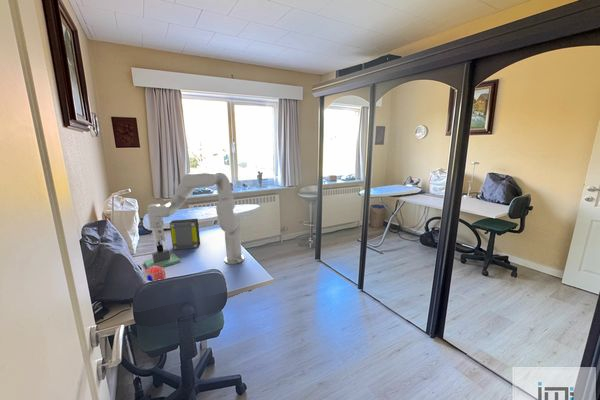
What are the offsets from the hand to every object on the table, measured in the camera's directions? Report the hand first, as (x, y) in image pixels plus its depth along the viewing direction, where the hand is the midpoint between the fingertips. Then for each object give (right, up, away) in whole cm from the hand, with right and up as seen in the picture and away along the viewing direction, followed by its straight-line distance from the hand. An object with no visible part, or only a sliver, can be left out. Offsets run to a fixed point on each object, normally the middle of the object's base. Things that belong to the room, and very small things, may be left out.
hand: (160, 251), depth 168 cm
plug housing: (0, -6, +1) cm, 6 cm away
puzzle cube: (+9, -13, -22) cm, 27 cm away
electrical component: (+5, -2, +27) cm, 28 cm away
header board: (0, -8, +2) cm, 8 cm away
